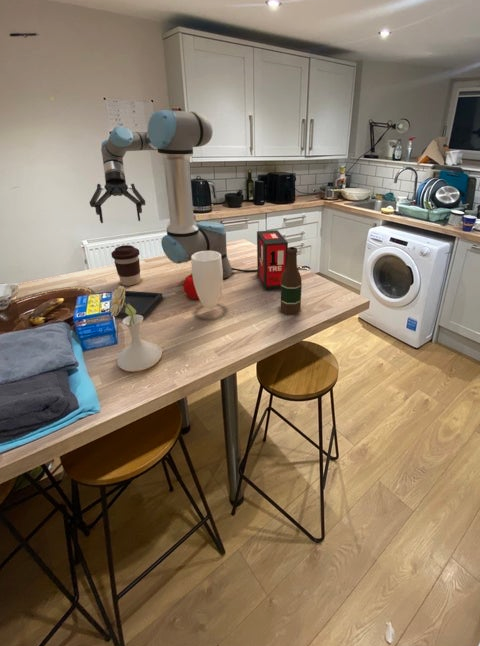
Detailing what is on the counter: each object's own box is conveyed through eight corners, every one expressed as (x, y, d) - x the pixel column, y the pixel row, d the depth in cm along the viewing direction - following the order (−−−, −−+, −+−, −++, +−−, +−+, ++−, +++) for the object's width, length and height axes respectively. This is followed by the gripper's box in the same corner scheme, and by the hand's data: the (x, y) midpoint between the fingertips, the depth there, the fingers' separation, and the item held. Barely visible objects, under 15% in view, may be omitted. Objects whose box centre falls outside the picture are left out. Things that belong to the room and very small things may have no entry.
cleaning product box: (286, 288, 138) (287, 242, 130) (265, 290, 135) (265, 244, 127) (276, 272, 152) (277, 230, 144) (257, 274, 150) (256, 231, 141)
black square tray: (163, 298, 126) (162, 292, 125) (144, 319, 113) (143, 313, 112) (124, 295, 127) (123, 290, 126) (100, 316, 113) (99, 310, 112)
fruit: (185, 291, 132) (182, 267, 128) (208, 289, 134) (206, 266, 130) (182, 302, 124) (179, 278, 120) (207, 300, 126) (205, 276, 122)
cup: (199, 322, 112) (193, 263, 104) (192, 308, 121) (186, 252, 112) (229, 315, 117) (226, 258, 108) (221, 302, 125) (217, 248, 117)
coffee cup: (148, 278, 142) (143, 244, 136) (135, 288, 133) (129, 253, 127) (126, 276, 142) (120, 242, 136) (112, 286, 133) (104, 251, 127)
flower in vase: (123, 351, 97) (106, 273, 87) (165, 346, 100) (153, 270, 90) (111, 382, 86) (90, 296, 76) (158, 376, 88) (144, 293, 78)
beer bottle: (303, 306, 125) (306, 246, 115) (296, 317, 118) (299, 253, 108) (284, 302, 127) (285, 243, 117) (276, 312, 120) (277, 250, 110)
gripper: (147, 180, 150) (154, 222, 144) (81, 180, 139) (86, 226, 134) (146, 170, 143) (153, 214, 138) (78, 169, 132) (83, 217, 127)
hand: (120, 220), depth 136 cm, fingers open, 13 cm apart
